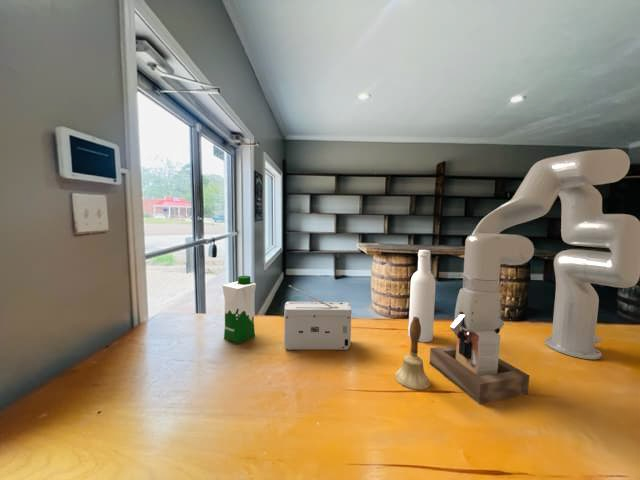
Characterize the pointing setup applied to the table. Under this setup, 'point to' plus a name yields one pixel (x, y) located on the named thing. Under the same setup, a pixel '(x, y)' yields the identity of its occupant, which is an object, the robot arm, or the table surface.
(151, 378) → the table surface
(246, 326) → the milk carton
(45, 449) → the table surface
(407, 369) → the hand bell
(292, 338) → the stereo radio cassette player
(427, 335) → the bottle
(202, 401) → the table surface
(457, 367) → the well block
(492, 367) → the small box
